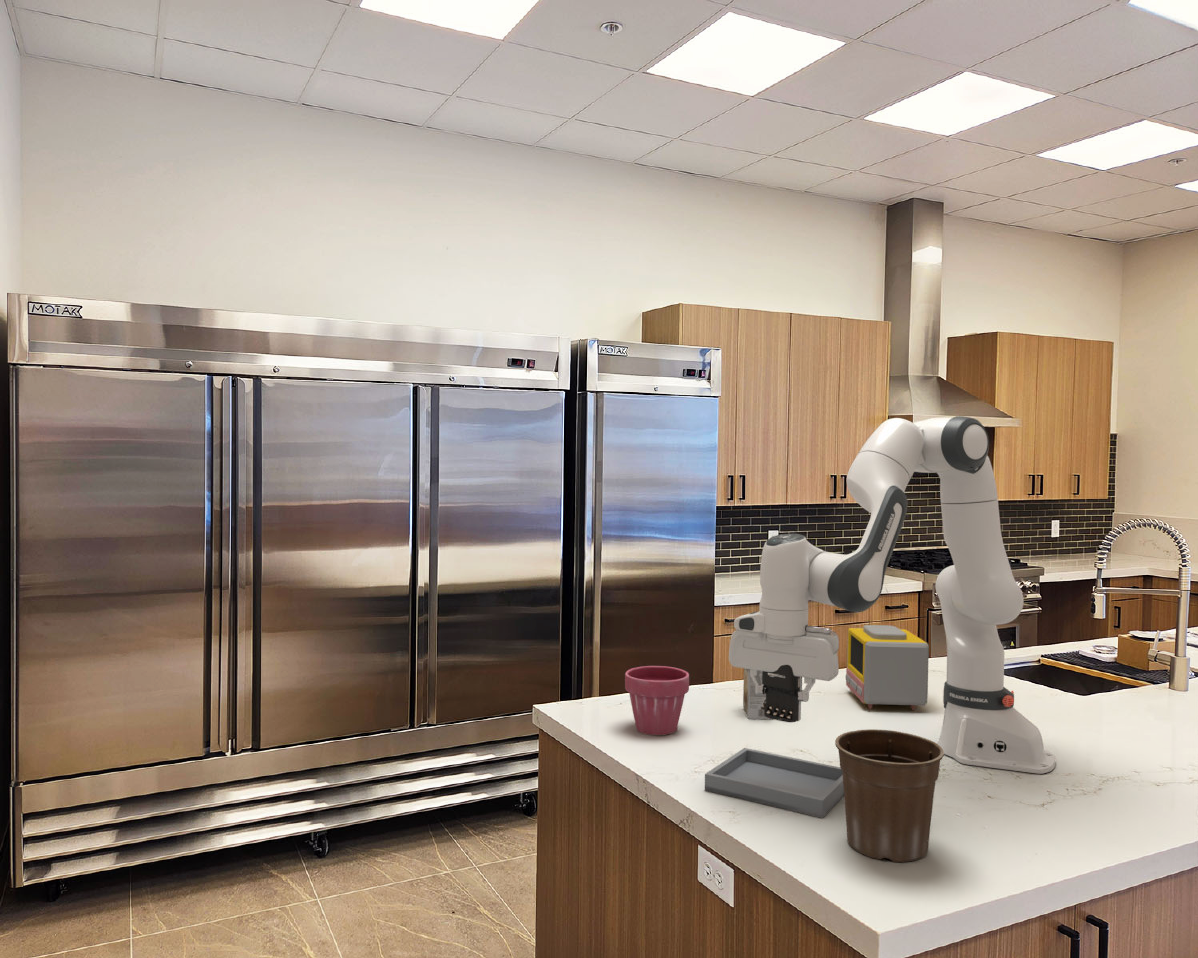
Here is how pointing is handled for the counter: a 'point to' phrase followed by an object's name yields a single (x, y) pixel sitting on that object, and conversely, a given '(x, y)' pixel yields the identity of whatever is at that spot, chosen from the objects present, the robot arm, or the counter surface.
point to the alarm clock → (887, 666)
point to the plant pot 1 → (656, 697)
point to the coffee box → (753, 698)
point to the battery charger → (782, 694)
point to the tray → (778, 781)
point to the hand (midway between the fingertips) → (781, 697)
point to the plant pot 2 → (888, 792)
